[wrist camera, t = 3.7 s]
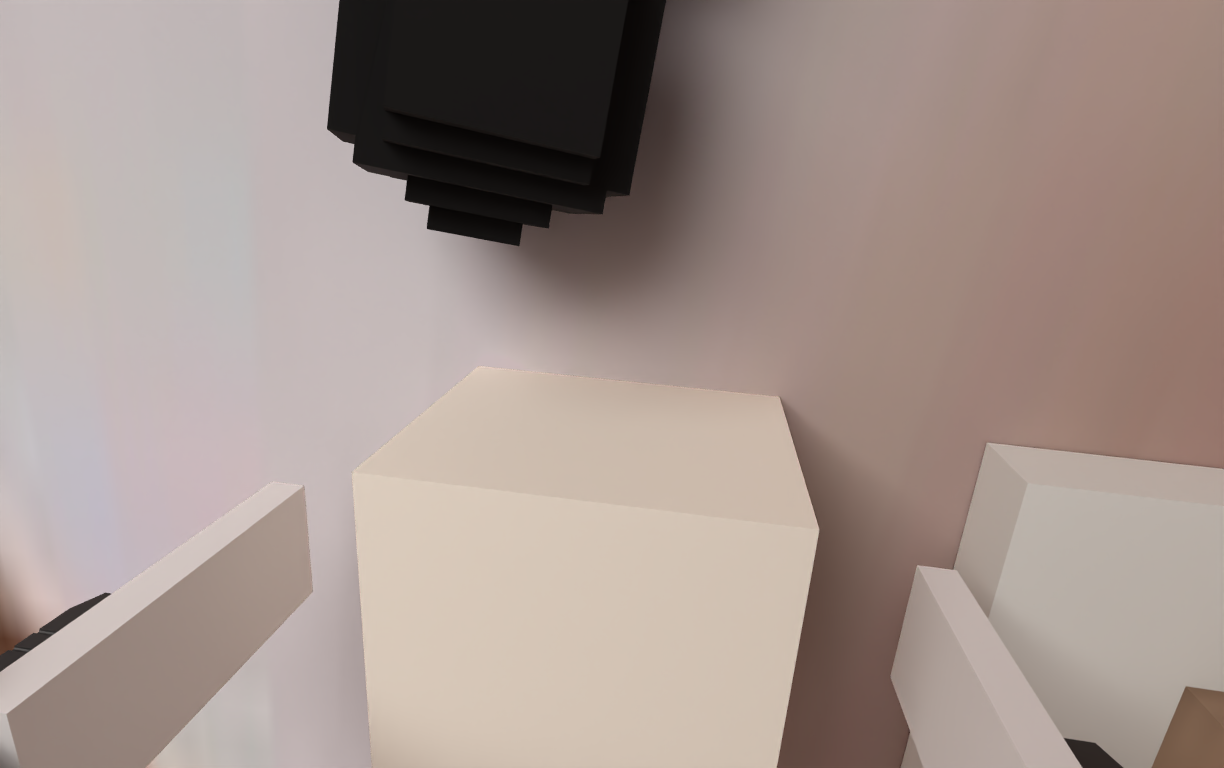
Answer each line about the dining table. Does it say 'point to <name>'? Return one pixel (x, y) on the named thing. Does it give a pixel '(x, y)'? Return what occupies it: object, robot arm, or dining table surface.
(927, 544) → the dining table surface
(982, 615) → the robot arm
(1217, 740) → the walnut brick
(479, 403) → the cream brick
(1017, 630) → the plinth
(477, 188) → the toy
